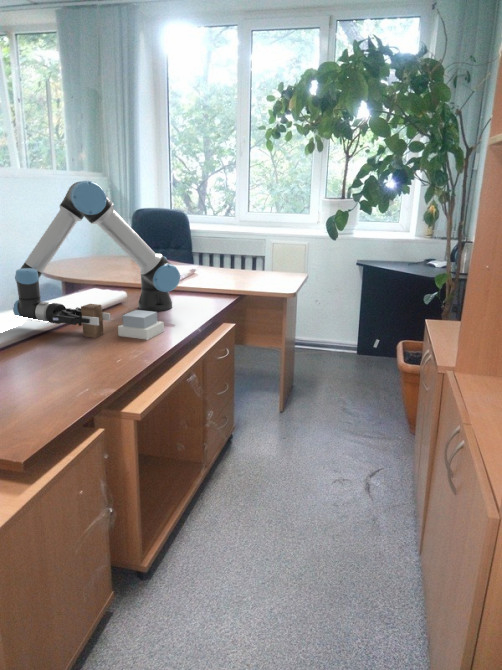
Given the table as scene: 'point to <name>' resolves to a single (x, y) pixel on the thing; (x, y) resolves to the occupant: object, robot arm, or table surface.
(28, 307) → the robot arm
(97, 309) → the walnut block
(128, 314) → the tower top
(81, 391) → the table surface
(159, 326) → the tower base
